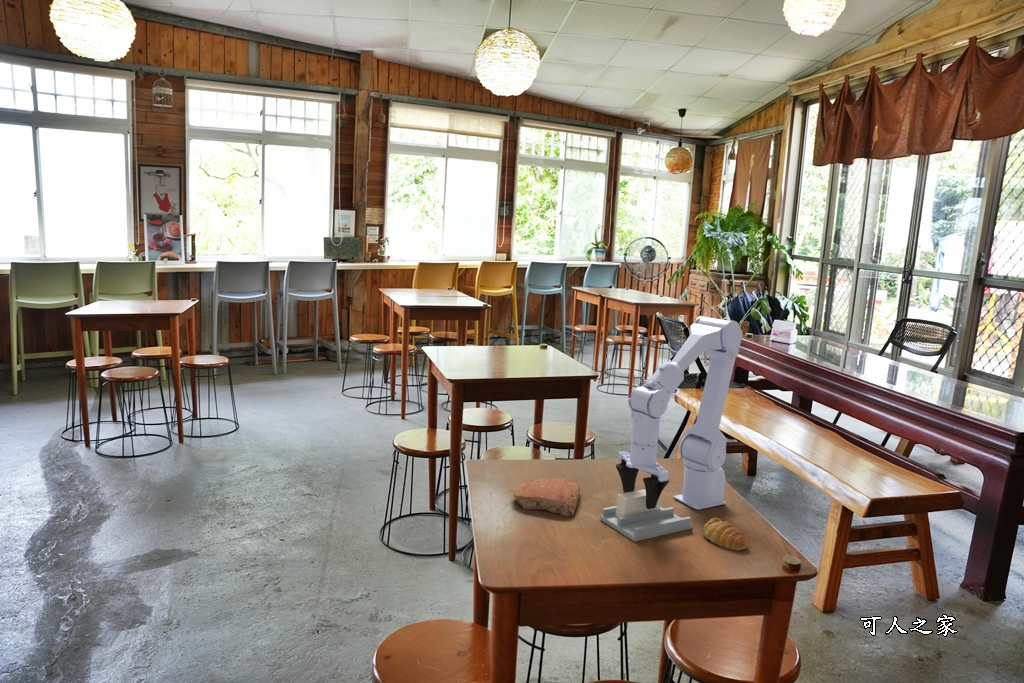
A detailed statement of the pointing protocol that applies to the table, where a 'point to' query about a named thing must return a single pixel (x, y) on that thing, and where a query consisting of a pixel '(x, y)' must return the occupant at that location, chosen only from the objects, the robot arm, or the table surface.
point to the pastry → (724, 534)
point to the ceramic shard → (548, 495)
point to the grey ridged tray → (646, 523)
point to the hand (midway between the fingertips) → (639, 501)
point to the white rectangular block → (633, 503)
